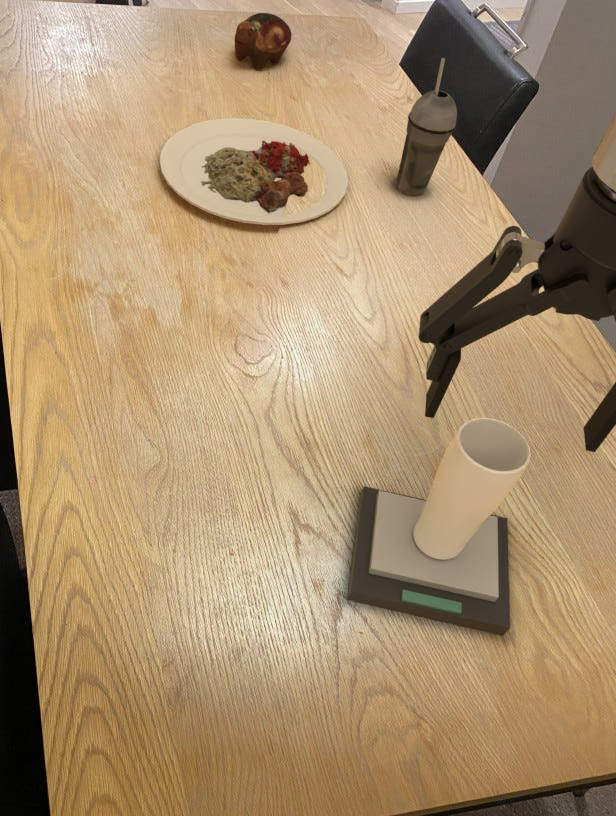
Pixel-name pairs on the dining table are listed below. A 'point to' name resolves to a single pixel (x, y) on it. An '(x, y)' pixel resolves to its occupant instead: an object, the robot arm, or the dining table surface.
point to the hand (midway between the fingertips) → (508, 423)
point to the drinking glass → (470, 485)
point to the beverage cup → (425, 138)
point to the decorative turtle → (262, 39)
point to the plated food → (249, 170)
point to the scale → (428, 567)
